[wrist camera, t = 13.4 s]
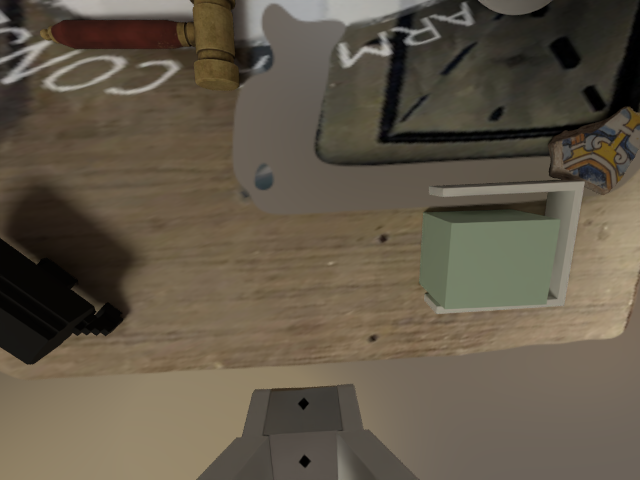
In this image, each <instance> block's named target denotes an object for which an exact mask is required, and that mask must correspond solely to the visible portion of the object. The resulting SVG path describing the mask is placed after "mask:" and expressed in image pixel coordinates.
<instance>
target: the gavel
mask: <svg viewBox="0 0 640 480" xmlns="http://www.w3.org/2000/svg"><path fill="white" fill-rule="evenodd" d="M190 1H191V2H192V3H193V4H194V7H193V20H194V22H188V23H186V22H174V21H169V20H63V21H61V22H60V23H58V24H56V25H54V26H49V28H48V30H47V29H42V30H41V31H40V34H41V36H42V37H43V38H44V39H45V40H53V41H54V42H56V43H61V44H63V45H66V46H69V47H72V48H75V49H175V48H180V47H191V46H193V47H196V54H197V55H198V61H196V62H195V63H194V70H195V81H196V84H198V85H199V86H201V87H203V88H206V89H211V90H235V89H237V88H238V87H239V69H238V67H237V66H236V65H235V64H234V59H235V49H234V31H233V15H232V13H231V10H232V9H233V8H234V7H235V0H190Z"/></svg>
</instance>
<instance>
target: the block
mask: <svg viewBox="0 0 640 480" xmlns="http://www.w3.org/2000/svg"><path fill="white" fill-rule="evenodd" d="M560 222H561V219H557V218H552V217H547V216H542V215H537V214H532V213H527V212H523V211H518V210H513V209H506V210H477V211H448V212H423V226H422V244H421V261H420V279H419V283H420V284H421V286H422V287H423V288H424V289H425V290H426V291H427V292H428V293H429V294H430V295H431V296H432V297H433V298H434V299H435V300H436V301H437V302H438V303H439V304H440V305H441V306H442V307H443V308H444V309H461V308H482V307H503V306H524V305H546V304H547V298H548V292H549V286H550V280H551V274H552V268H553V263H554V257H555V251H556V245H557V239H558V233H559V227H560Z"/></svg>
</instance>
